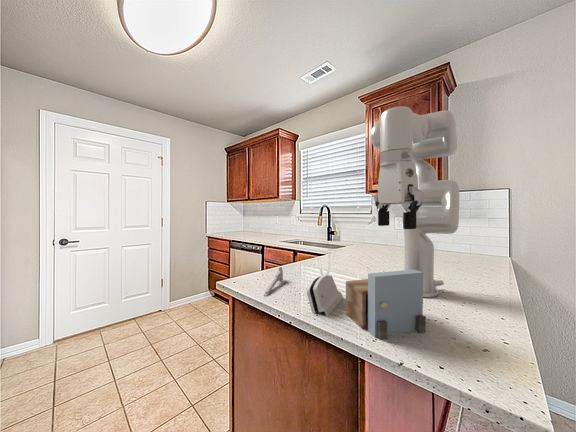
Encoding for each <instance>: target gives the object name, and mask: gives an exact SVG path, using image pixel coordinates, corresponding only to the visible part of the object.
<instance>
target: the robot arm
mask: <svg viewBox="0 0 576 432" xmlns="http://www.w3.org/2000/svg"><path fill="white" fill-rule="evenodd" d="M456 125H457V124H456V121H455V117H454V115H453V113H452V112H451V111H450V110H448V109H447V110H440V111H433V112H430V113H426V114H419V113H415V112H413V110H412V109H411V108H410V107H408V106H403V105H402V106H394V107H391V108H387V109H386V110H384V111H383V112H382V113H381V115H380V119H379V122H376V123H375V124H374V125H373V126H372V128H371V131H370V141H371V144H372V145H373V147H374V148H375V149H377V150H379V167H380V168H379V172H378V179H377V180H378V183H377V192H376V193H375V194H374V195H373V199H374V205H375V207H376V211H377V225H378V226H379V227H385V226H390V211H389V209H390V206H391V205H401V206H402V207H403V210H404V211H403V213H402V218H401V220H402V229H403V235H404V236H403V237H404V270H417V271H420V272H423V298H435V297H438V295H439V290H438V288H437V287H438V286H440V287H441V286H444V284H445V283H444V280H443V279H441V280H440V279H438V280H436V279H434V273H435V271H434V267H435V266H434V261H435V258H434V256H435V246H434V242H432V240H431V238H430V237H428V235H427V234H436V235H437V234H441V235H450V234H451V235H452V234H454V233H456V232H457V231H458V229H459V223H460V222H459V221H460V188H459V187H460V186H459V185H458V183H457V182H456V181H455V180H452V179H440V180H437V171H436V169H435V168H434V167H433V166H432V165H431V164H430V163H429V162H428V161H426V160H427V159H435V158H445V157H446V158H447V157H450V156H452V155H454V154H455V152H456V151H457V147H458V138H457V137H458V136H457V128H456Z"/></svg>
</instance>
